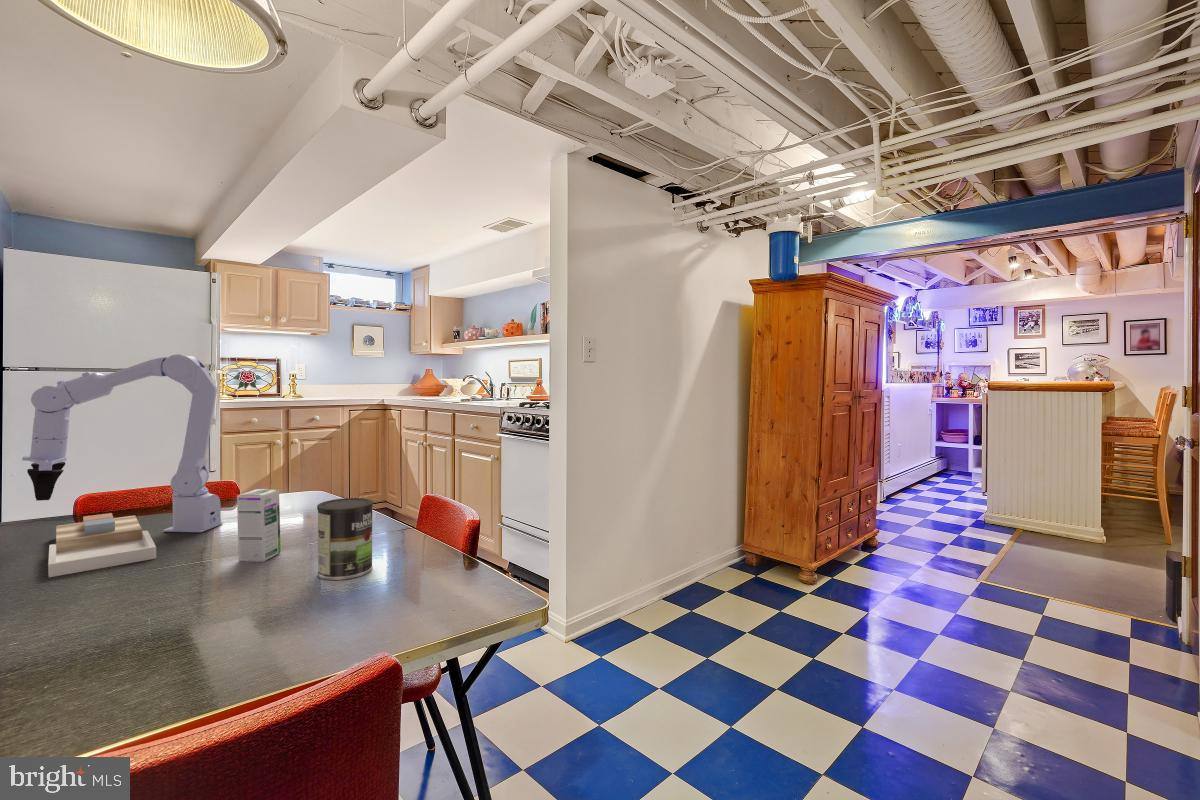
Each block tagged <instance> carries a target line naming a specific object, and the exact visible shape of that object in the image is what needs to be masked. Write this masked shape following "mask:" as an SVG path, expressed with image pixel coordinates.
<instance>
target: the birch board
mask: <svg viewBox="0 0 1200 800" xmlns="http://www.w3.org/2000/svg"><path fill="white" fill-rule="evenodd" d="M113 518H114V521H115V531H108V532H101V533H94V534H87V535H85V532H84V525H83V521H82V522H75V523H74V522H73V523H67V524H66V523H65V524H61V525H60V524H59V525H56V528H55V530H56V531H55V532H56V533H55V534H56V535H55V538H56V539H55V544H56V553H60V552H66V551H73V550H79V549H85V548H92V547H98V546H105V545H111V544H118V543H124V542H131V541H137V540H142V531H143V528H142V526H141V525H140V523H139V520H138V519H137V516H136V515H128V516H122V517H121V516H120V517H113Z"/></svg>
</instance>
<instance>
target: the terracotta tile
mask: <svg viewBox="0 0 1200 800" xmlns="http://www.w3.org/2000/svg"><path fill="white" fill-rule="evenodd" d="M113 515H114V514H113V513H112V512H109V513H101V514H95V515H94V514H93V515H86V516H84V515H83V517H82V518H83V519H82V522H83V525H84V521H91V520H98V519H106V518H114V516H113Z"/></svg>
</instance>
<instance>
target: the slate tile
mask: <svg viewBox="0 0 1200 800" xmlns="http://www.w3.org/2000/svg"><path fill="white" fill-rule="evenodd" d="M114 518H115V517H113V518H106V519H98V520H91V521H84V532H85V535H87V534H94V533H101V532H108V531H115V521H114Z"/></svg>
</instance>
